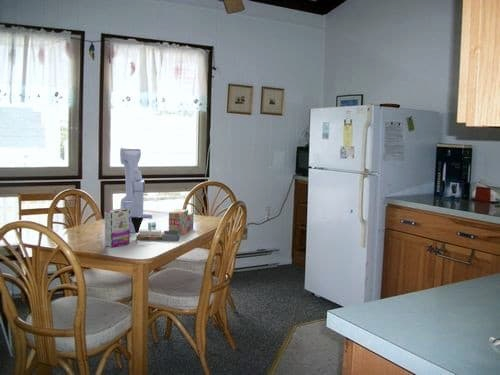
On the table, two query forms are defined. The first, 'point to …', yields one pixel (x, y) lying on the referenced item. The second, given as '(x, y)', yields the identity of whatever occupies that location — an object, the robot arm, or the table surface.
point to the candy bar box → (117, 227)
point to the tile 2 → (156, 232)
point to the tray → (171, 236)
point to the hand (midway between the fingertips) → (137, 232)
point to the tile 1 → (144, 232)
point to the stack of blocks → (180, 221)
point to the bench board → (149, 237)
